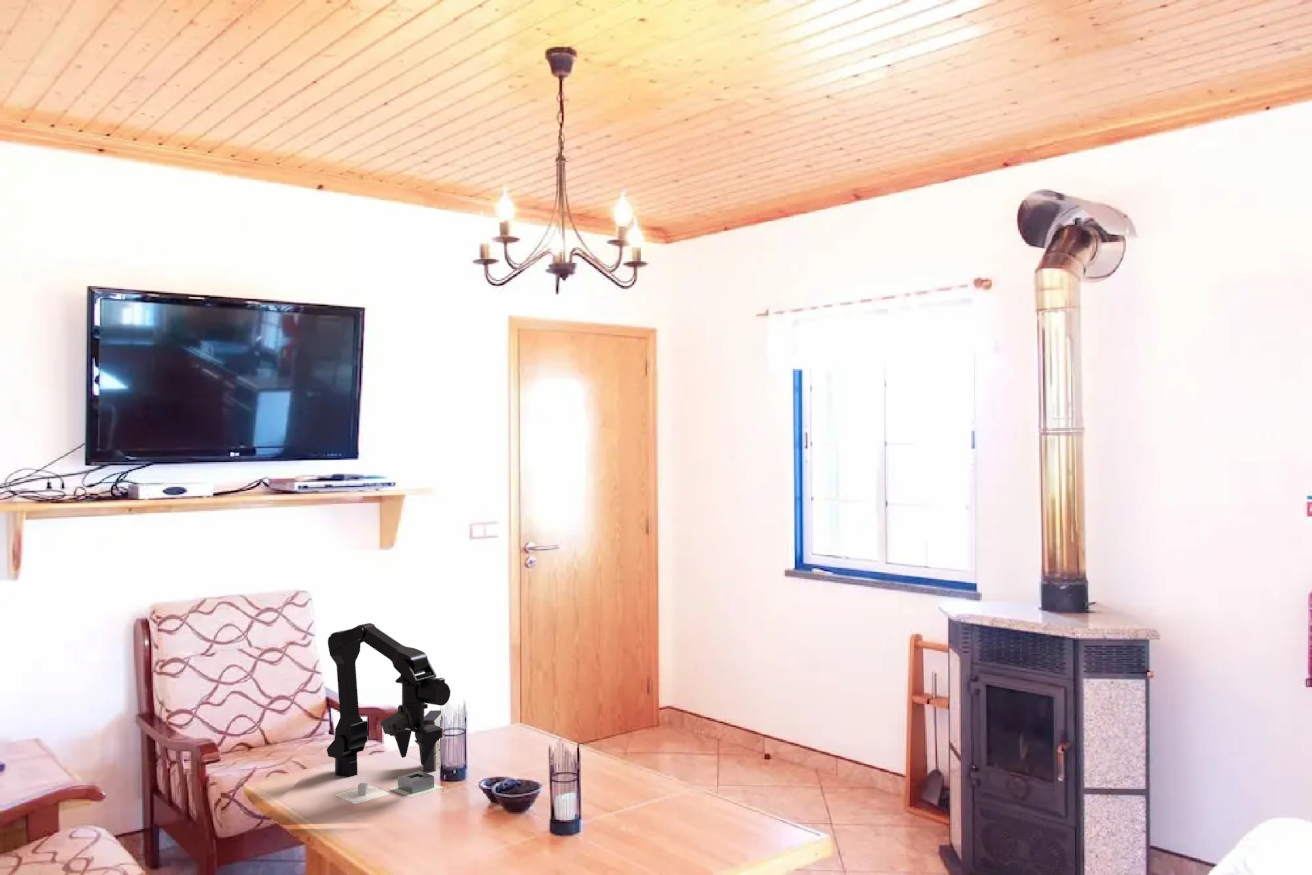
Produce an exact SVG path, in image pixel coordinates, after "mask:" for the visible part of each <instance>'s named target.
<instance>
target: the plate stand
mask: <svg viewBox="0 0 1312 875" xmlns="http://www.w3.org/2000/svg"><path fill="white" fill-rule="evenodd" d="M389 795H391V793H389V792H387V791H385V790H382V789H380V788H377V787H375V786H373V785H369V783H368V782H359V784H357V788H356V789H355V788H354V789H351V790H347V791H343V792H340V793H336V794H335V796H336V797H339V798H341V799H343V800H346V801H347V802H350V803H352V804H354V805H358V804H361V803H364V802H367V801H370V800H375V799H379V798H382V797H386V796H389Z"/></svg>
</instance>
